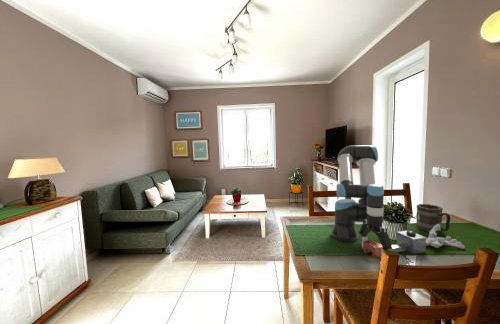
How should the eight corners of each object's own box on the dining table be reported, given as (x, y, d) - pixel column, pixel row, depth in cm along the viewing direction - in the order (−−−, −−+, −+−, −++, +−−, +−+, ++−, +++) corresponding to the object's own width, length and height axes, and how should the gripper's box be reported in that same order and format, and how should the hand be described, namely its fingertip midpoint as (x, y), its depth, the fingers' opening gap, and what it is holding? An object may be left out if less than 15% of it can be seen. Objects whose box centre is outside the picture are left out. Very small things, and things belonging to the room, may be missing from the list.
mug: (410, 225, 152) (411, 204, 150) (427, 224, 154) (428, 203, 153) (439, 237, 132) (440, 213, 131) (457, 235, 135) (459, 211, 133)
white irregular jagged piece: (410, 222, 133) (443, 223, 133) (407, 234, 135) (441, 236, 134) (434, 238, 115) (473, 240, 114) (431, 252, 116) (470, 254, 116)
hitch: (408, 243, 126) (408, 227, 125) (425, 252, 116) (426, 234, 115) (379, 247, 122) (379, 231, 121) (394, 256, 112) (395, 239, 111)
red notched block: (372, 250, 119) (373, 239, 119) (384, 257, 111) (385, 246, 111) (363, 251, 118) (363, 240, 118) (374, 259, 110) (374, 247, 110)
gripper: (401, 221, 102) (400, 265, 103) (363, 207, 126) (363, 242, 127) (388, 223, 100) (386, 267, 102) (352, 208, 124) (351, 244, 126)
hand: (373, 254), depth 115 cm, fingers open, 13 cm apart
